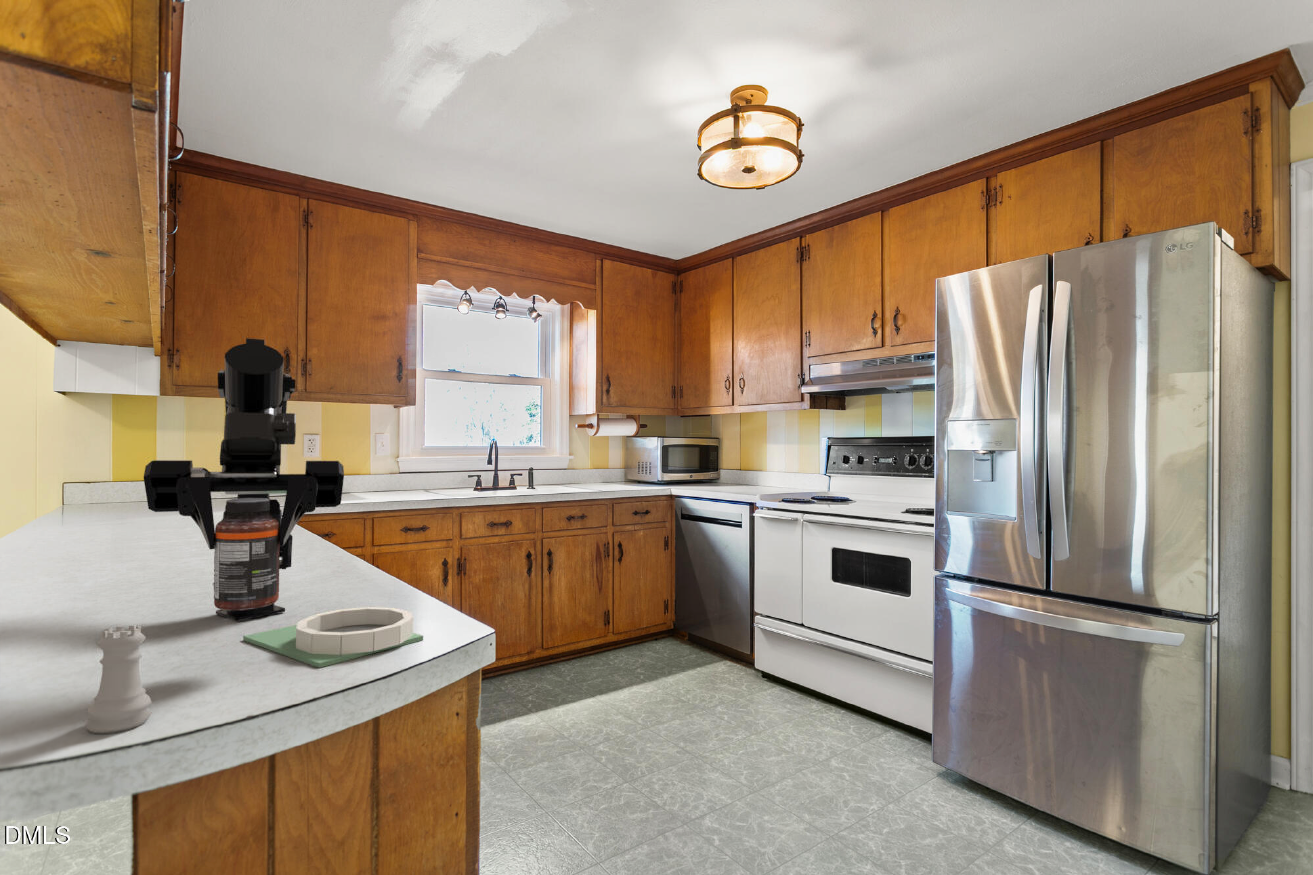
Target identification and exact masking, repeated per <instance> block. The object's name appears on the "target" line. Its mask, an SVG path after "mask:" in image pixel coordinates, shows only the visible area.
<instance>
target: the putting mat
mask: <svg viewBox="0 0 1313 875" xmlns="http://www.w3.org/2000/svg"><path fill="white" fill-rule="evenodd" d="M296 627H297V624H293V625H289V626H285V627H279V628H276V629H271V630H266V631H261V632H256V633H252V634H251V633H250V634H246V635H243V636H242V637H243V638H242V639H243V641H245V642H247V643H251V644H253V645H256V646H259V647H261V648H264V649H267V650H270V651H271V652H275V653H277V654H281V655H283V656H285V657H289V658H292V659H294V660H296V661H300V662H302V663H305V664H308V665H310V666H313V667H316V668H319V669H320V668H323V667H327V666H331V665H335V664H338V663H339V664H340V663H343V662H347V661H350V660H353V659H357V658H360V657H361V658H362V657H365V656H368V655H372V654H375V653H376V654H377V653H379V652H383V651H386V650H390V649H394V648H398V647H401V646H405V645H409V644H412V643H417V642H419V641H424V635H422V634H419V633H414V632H413V633H412V637H410V638H409V639H407V640H406V641H404V642H403V643H401V644H399V645H395V646H391V647H387V648H384V649H380V650H376V651H371V652H362V653H353V654H344V655H341V654H340V655H331V654H312V653H308V652H305V651H302V650H299V649H296Z"/></svg>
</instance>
